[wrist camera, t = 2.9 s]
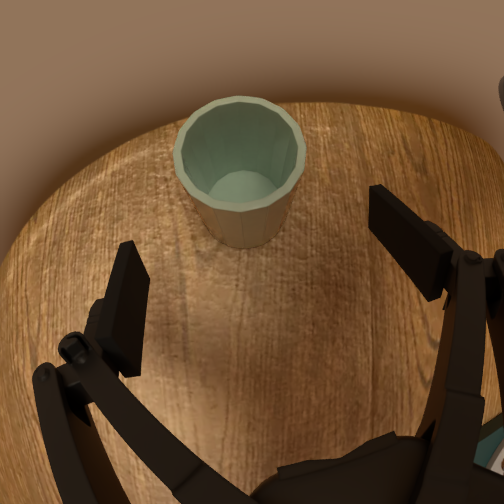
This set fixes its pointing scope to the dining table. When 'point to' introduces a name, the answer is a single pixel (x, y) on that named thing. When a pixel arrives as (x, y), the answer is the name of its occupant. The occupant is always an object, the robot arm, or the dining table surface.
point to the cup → (240, 167)
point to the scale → (491, 445)
